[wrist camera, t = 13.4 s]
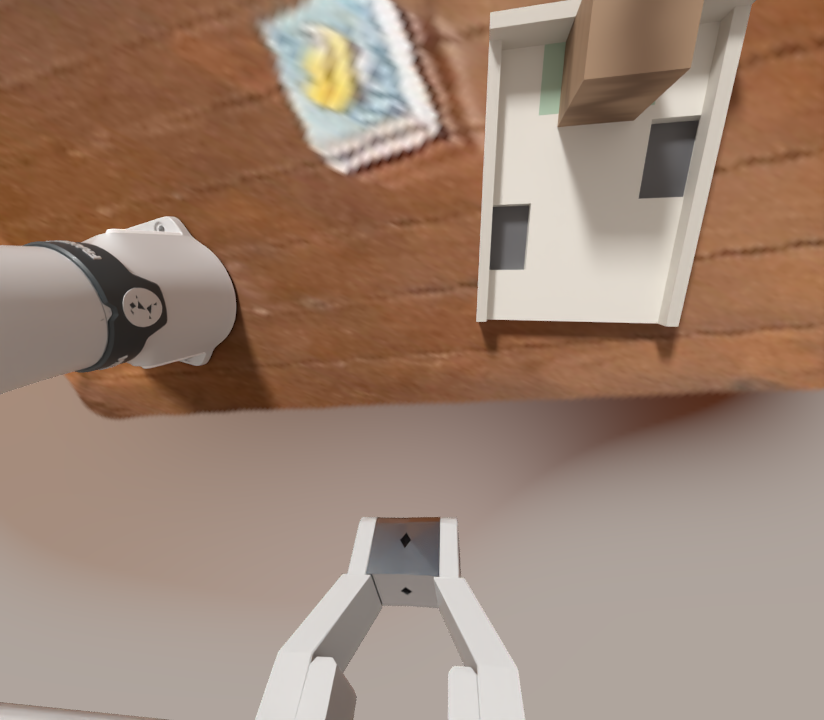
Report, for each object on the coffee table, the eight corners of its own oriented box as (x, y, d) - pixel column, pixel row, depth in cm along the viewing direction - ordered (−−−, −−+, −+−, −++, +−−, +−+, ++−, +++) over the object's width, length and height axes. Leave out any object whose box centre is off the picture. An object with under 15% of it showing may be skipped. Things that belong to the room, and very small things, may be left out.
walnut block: (557, 127, 29) (583, 79, 21) (565, 41, 27) (598, -43, 19) (633, 120, 27) (690, 67, 20) (648, 30, 26) (716, -64, 18)
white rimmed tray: (476, 316, 36) (476, 324, 32) (489, 48, 29) (490, 12, 25) (661, 321, 32) (687, 330, 28) (725, 16, 26) (773, -32, 21)
